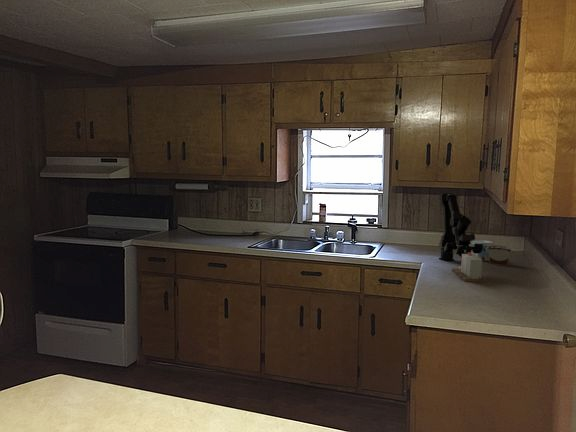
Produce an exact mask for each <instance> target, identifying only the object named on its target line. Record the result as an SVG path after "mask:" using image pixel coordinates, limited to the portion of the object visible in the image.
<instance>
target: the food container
mask: <svg viewBox="0 0 576 432" xmlns="http://www.w3.org/2000/svg"><path fill="white" fill-rule="evenodd" d="M488 249H489V260H488V264H490V265H496V266H497V265H498V266H505V267H508V265H509V260H510V259H509V258H510V254H511V252H512V248H511V247H509V246H506V245H497V244H494V245H491V246H489V247H488Z"/></svg>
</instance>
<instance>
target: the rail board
mask: <svg viewBox="0 0 576 432" xmlns="http://www.w3.org/2000/svg"><path fill="white" fill-rule="evenodd" d="M451 272H452V273H453V274H455V275H456V276H457V277H459V279H461V280H462V281H463V282H467V283H468V282H471V283H473V282H474V283H475V282H476V283H479V282H480V283H486V280H487V278H485V277H484V276H482V275H481V278H479V277H471V278H469V277H468V276H466V275H465V274H464V273H462V272H461V266H458V267H452V268H451Z"/></svg>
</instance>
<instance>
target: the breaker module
mask: <svg viewBox="0 0 576 432" xmlns="http://www.w3.org/2000/svg"><path fill="white" fill-rule="evenodd" d="M467 257H477V256H475V255H473V254H472V253H468V254H462V258H461V261H460V263H461V265H460V267H461V272H462V273H464V274H466V259H467Z"/></svg>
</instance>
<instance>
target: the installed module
mask: <svg viewBox="0 0 576 432" xmlns="http://www.w3.org/2000/svg"><path fill="white" fill-rule="evenodd" d="M482 267H483V261H482V259H480V258H478V257H467V259H466V274H465V275H466V276H468V277H469V278H471V277H479V278H481V276H482V271H483V269H482Z"/></svg>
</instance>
